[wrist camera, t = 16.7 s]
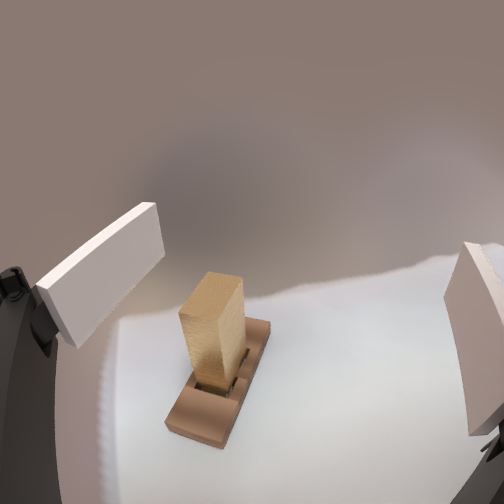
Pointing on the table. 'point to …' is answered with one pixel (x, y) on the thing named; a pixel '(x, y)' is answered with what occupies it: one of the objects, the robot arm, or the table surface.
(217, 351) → the tall wooden block
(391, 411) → the table surface
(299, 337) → the table surface
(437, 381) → the table surface
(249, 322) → the slotted wooden base
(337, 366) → the table surface
